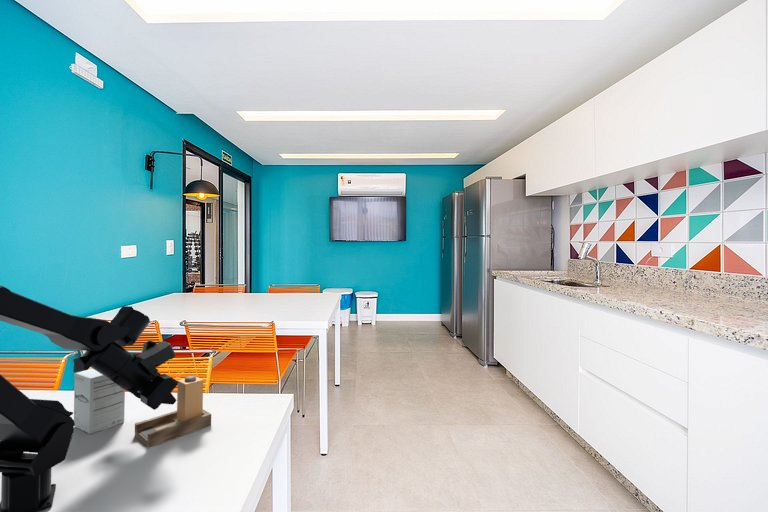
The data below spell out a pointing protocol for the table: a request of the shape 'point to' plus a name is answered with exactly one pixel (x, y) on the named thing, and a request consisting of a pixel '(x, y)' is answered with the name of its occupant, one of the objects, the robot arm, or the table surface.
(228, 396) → the table surface
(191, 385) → the block
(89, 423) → the supplement box
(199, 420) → the box
